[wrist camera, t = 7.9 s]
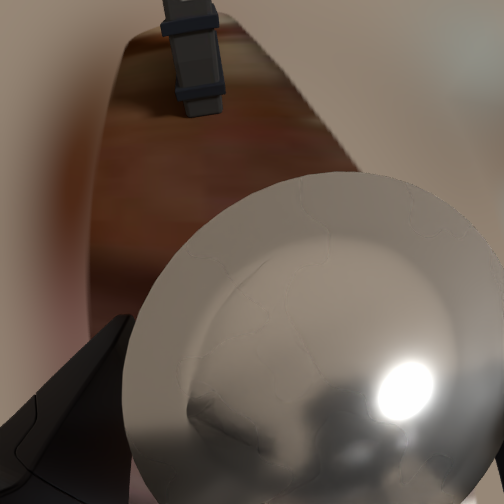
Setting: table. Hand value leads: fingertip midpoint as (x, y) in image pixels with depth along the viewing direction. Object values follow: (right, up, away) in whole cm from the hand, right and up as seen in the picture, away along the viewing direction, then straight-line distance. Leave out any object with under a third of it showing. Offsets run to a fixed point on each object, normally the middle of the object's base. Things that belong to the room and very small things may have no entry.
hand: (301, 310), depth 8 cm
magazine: (-6, +19, +17) cm, 26 cm away
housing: (0, -4, +7) cm, 8 cm away
